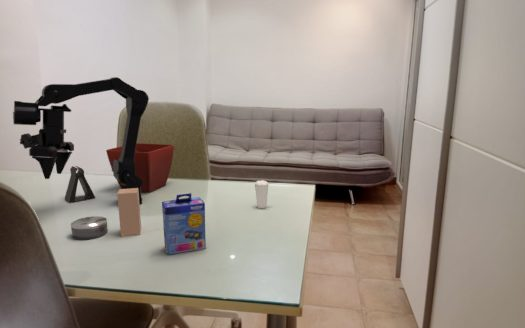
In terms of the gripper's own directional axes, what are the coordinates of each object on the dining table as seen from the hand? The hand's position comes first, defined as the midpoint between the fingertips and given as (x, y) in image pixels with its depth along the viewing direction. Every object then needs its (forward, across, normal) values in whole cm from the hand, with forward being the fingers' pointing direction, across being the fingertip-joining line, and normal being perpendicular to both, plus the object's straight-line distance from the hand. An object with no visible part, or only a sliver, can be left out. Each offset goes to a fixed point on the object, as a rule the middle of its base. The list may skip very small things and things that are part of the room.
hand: (53, 176), depth 118 cm
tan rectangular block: (+11, +18, +27) cm, 34 cm away
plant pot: (+10, -32, +22) cm, 40 cm away
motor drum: (+12, +17, +16) cm, 27 cm away
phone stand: (+12, -19, +2) cm, 23 cm away
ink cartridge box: (+11, +31, +43) cm, 54 cm away
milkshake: (+7, +1, +66) cm, 67 cm away
